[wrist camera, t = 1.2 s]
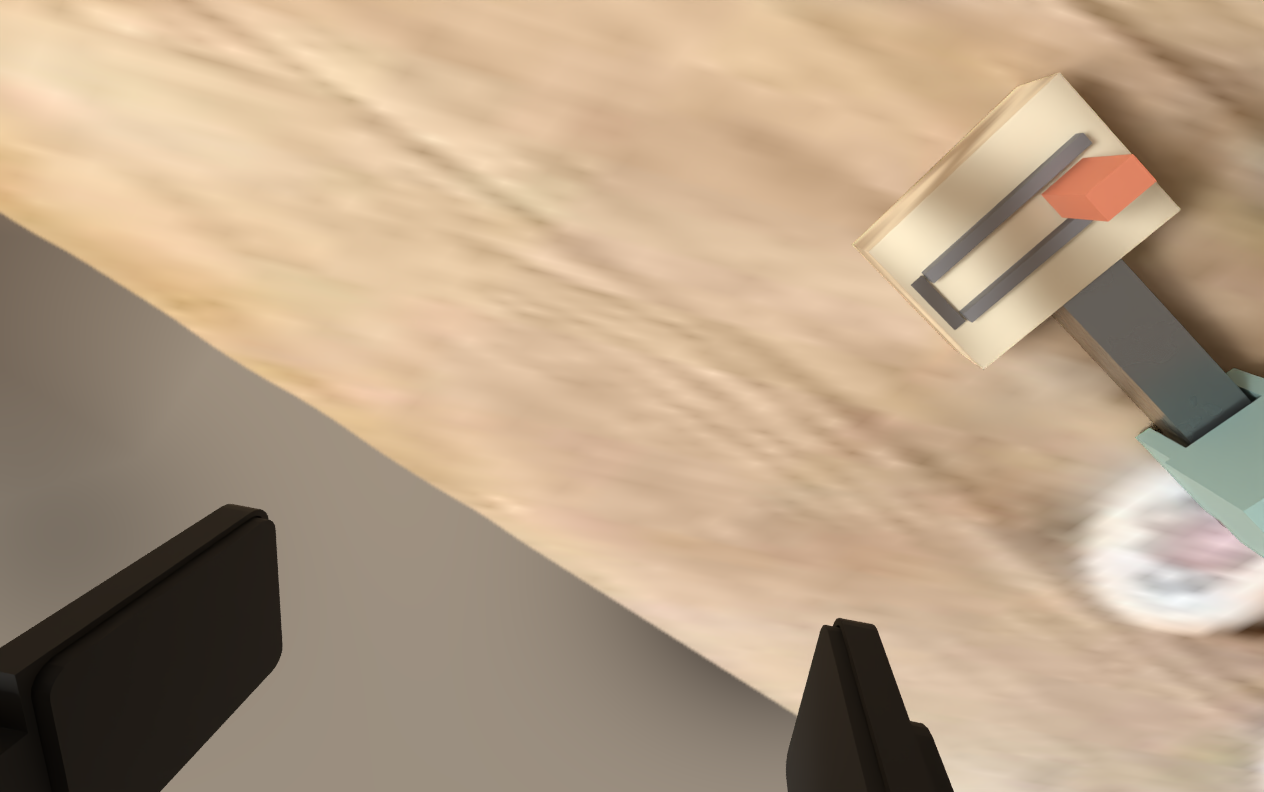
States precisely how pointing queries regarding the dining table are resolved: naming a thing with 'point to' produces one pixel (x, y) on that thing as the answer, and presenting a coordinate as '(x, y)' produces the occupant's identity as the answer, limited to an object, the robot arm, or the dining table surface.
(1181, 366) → the rail
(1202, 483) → the carriage
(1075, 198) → the orange clay brick
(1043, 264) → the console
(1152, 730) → the dining table surface
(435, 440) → the dining table surface
